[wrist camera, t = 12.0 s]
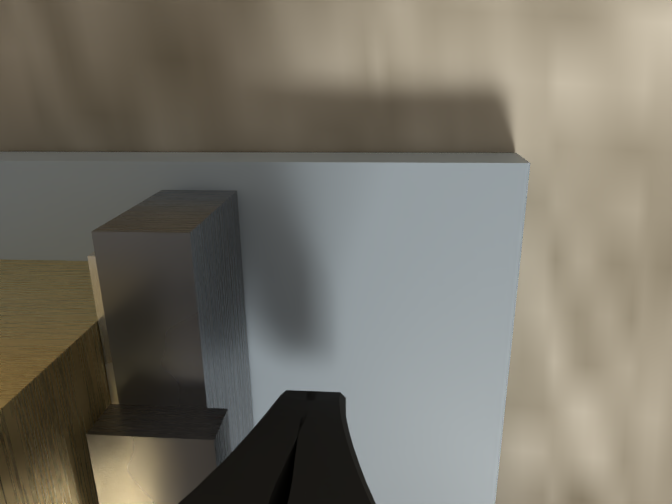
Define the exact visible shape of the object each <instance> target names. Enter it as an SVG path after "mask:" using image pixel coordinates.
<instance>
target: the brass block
mask: <svg viewBox="0 0 672 504" xmlns="http://www.w3.org/2000/svg"><path fill="white" fill-rule="evenodd" d="M110 404H112V403H111V397H110V391H109V385H108V379H107V373H106V367H105V361H104V355H103V349H102V343H101V337H100V331H99V325H98V318H97V312H96V306H95V300H94V294H93V288H92V282H91V276H90V270H89V264H88V261H63V260H6V259H0V504H99V501H98V496H97V490H96V485H95V480H94V474H93V469H92V463H91V458H90V453H89V447H88V442H87V437H86V434H87V433H88V431H89V430H90V429H91V427H92V426H93V425H94V424H95V422H96V421H97V420H98V419H99V417H100V416H101V415H102V414H103V412H104V411H105V410H106V409H107V407H108V406H109V405H110Z"/></svg>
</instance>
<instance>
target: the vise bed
mask: <svg viewBox="0 0 672 504" xmlns="http://www.w3.org/2000/svg"><path fill="white" fill-rule="evenodd" d="M529 170H530V163H529V162H528V161H527V160H525V159H524V158H522V157H521V156H520V155H518V154H517V153H355V152H0V259H6V260H63V261H88V258H87V256H88V255H90V254H91V253H93V252H94V246H93V239H92V233H91V231H93V230H95V229H96V228H98V227H100V226H101V225H103V224H105V223H107V222H108V221H110V220H112V219H113V218H115V217H117V216H118V215H120V214H122V213H123V212H125V211H127V210H129V209H130V208H132V207H134V206H135V205H137V204H139V203H140V202H142V201H144V200H145V199H147V198H149V197H151V196H152V195H154V194H156V193H157V192H159V191H161V190H237V196H238V211H239V225H240V240H241V254H242V268H243V283H244V297H245V311H246V326H247V340H248V355H249V369H250V383H251V398H252V412H253V427H255V426H256V424H257V423H258V422H259V421H260V420H261V419H262V417H263V416H264V415H265V414H266V413H267V411H268V410H269V409H270V408H271V406H272V405H273V404H274V403H275V401H276V400H277V399H278V398H279V396H280V395H281V394H282V393H283V392H285V391H286V390H298V391H324V392H341V393H342V394H343V395H344V396H345V397H346V418H347V424H348V428H349V432H350V436H351V440H352V443H353V447H354V449H355V452H356V455H357V458H358V461H359V464H360V467H361V470H362V472H363V475H364V477H365V480H366V482H367V485H368V487H369V489H370V492H371V494H372V496H373V498H374V501H375V503H376V504H495V500H496V490H497V480H498V471H499V461H500V451H501V442H502V432H503V422H504V413H505V403H506V393H507V384H508V374H509V364H510V355H511V345H512V335H513V325H514V316H515V306H516V296H517V287H518V277H519V267H520V258H521V248H522V238H523V229H524V219H525V209H526V200H527V190H528V180H529Z"/></svg>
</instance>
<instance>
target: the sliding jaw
mask: <svg viewBox="0 0 672 504" xmlns="http://www.w3.org/2000/svg"><path fill="white" fill-rule="evenodd" d="M91 233H92V239H93V246H94V252H93V253H91V254H90V255H88V256H87V258H88V264H89V270H90V276H91V282H92V288H93V294H94V300H95V306H96V312H97V318H98V325H99V331H100V337H101V343H102V349H103V355H104V361H105V367H106V373H107V379H108V385H109V391H110V397H111V403H112V404H110V405H109V406H108V407H107V409H106V410H105V411H104V412H103V414H102V415H101V416H100V417H99V419H98V420H97V421H96V422H95V424H94V425H93V426H92V427H91V429H90V430H89V431H88V433H87V434H86V437H87V442H88V447H89V453H90V458H91V463H92V469H93V474H94V480H95V485H96V490H97V496H98V501H99V504H178V503H179V502H180V501H181V500H183V499H184V498H185V497H186V496H187V495H188V494H189V493H190V492H191V491H193V490H194V489H195V488H196V487H197V486H198V485H199V484H200V483H201V482H202V481H203V480H204V479H205V478H206V477H207V476H208V475H209V474H210V473H211V472H212V471H213V470H214V469H215V468H217V467H218V466H219V465H220V464H221V463H222V462H223V461H224V460H225V459H226V458H227V457H228V456H229V454H230V453H231V452H232V451H233V450H234V449H235V448H236V447H237V446H238V445H239V444H240V442H241V441H242V440H243V439H244V438H245V437H246V436H247V435H248V434H249V433H250V431H251V430H252V429H253V428H254V427H253V412H252V398H251V383H250V369H249V355H248V340H247V326H246V311H245V297H244V283H243V268H242V254H241V240H240V225H239V211H238V196H237V190H161V191H159V192H157V193H156V194H154V195H152V196H151V197H149V198H147V199H145V200H144V201H142V202H140V203H139V204H137V205H135V206H134V207H132V208H130V209H129V210H127V211H125V212H123V213H122V214H120V215H118V216H117V217H115V218H113V219H112V220H110V221H108V222H107V223H105V224H103V225H101V226H100V227H98V228H96V229H95V230H93V231H91Z"/></svg>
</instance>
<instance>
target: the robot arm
mask: <svg viewBox="0 0 672 504" xmlns="http://www.w3.org/2000/svg"><path fill="white" fill-rule="evenodd" d="M178 504H376V503H375V501H374V498H373V496H372V494H371V492H370V489H369V487H368V485H367V482H366V480H365V477H364V475H363V472H362V470H361V467H360V464H359V461H358V458H357V455H356V452H355V449H354V447H353V443H352V440H351V436H350V432H349V428H348V424H347V418H346V397H345V396H344V395H343V394H342V393H341V392H324V391H298V390H286V391H285V392H283V393H282V394H281V395H280V396H279V398H278V399H277V400H276V401H275V403H274V404H273V405H272V406H271V408H270V409H269V410H268V411H267V413H266V414H265V415H264V416H263V417H262V419H261V420H260V421H259V422H258V423H257V424H256V426H255V427H254V428H253V429H252V430H251V431H250V433H249V434H248V435H247V436H246V437H245V438H244V439H243V440H242V441H241V442H240V444H239V445H238V446H237V447H236V448H235V449H234V450H233V451H232V452H231V453H230V454H229V456H228V457H227V458H226V459H225V460H224V461H223V462H222V463H221V464H220V465H219V466H218V467H217V468H215V469H214V470H213V471H212V472H211V473H210V474H209V475H208V476H207V477H206V478H205V479H204V480H203V481H202V482H201V483H200V484H199V485H198V486H197V487H196V488H195V489H194V490H193V491H191V492H190V493H189V494H188V495H187V496H186V497H185V498H184V499H183V500H181V501H180V502H179V503H178Z"/></svg>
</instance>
